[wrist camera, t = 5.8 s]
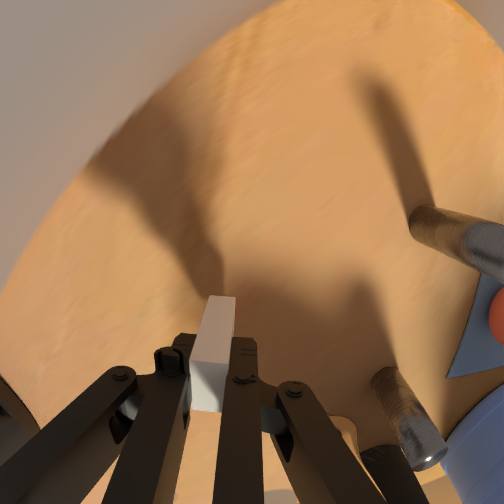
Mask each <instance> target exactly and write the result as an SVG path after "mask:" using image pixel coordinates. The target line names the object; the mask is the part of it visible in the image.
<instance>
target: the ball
mask: <svg viewBox="0 0 504 504" xmlns="http://www.w3.org/2000/svg"><path fill="white" fill-rule="evenodd" d="M489 326H490V330H491V332H492V334H493V336H494V338H495V339H496V340H497V341H498V342H499V343H500V344H502V345H503V346H504V287H503V288H502V289H501V290H500V291H499V292H498V293H497V294H496V296H495V297H494V299H493V301H492V303H491V306H490V310H489Z"/></svg>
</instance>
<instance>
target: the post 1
mask: <svg viewBox="0 0 504 504" xmlns="http://www.w3.org/2000/svg"><path fill="white" fill-rule="evenodd" d="M371 387H372V389H373V391H374V393H375V395H376V397H377V399H378V401H379V403H380V405H381V407H382V409H383V411H384V413H385V415H386V417H387V419H388V421H389V423H390V425H391V427H392V429H393V431H394V433H395V435H396V437H397V439H398V441H399V443H400V445H401V447H402V449H403V451H404V454H405V456H406V458H407V460H408V462H409V464H410V466H411V468H412V470H413V471H415V472H419V471H423V470H426V469H428V468H430V467H432V466H433V465H435V464H436V463H438V462H439V461H440V460H441V459H442V458H443V457H444V456H445V455H446V454H447V452H448V449H449V448H448V446H447V444H446V442H445V441H444V439H443V438H442V436H441V434H440V433H439V431H438V430H437V428H436V426H435V425H434V423H433V422H432V420H431V419H430V417H429V415H428V414H427V412H426V411H425V409H424V408H423V406H422V405H421V403H420V402H419V400H418V399H417V397H416V396H415V394H414V393H413V391H412V390H411V388H410V387H409V385H408V384H407V382H406V381H405V379H404V378H403V376H402V375H401V373H400V372H399V370H398V369H397V368H395V367H387V368H384V369H382V370H380V371H379V372H378V373H376V374H375V376H374V377H373V379H372V381H371Z"/></svg>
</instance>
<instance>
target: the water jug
mask: <svg viewBox="0 0 504 504" xmlns="http://www.w3.org/2000/svg"><path fill="white" fill-rule="evenodd" d="M446 444H447V446H448V448H449V449H448V452H447V454H446V455H445V456H444V457H443V458H442V459H441V460H440V464H441V466H442V468H443V470H444V472H445V473H446V474H447V475H448V476H449V478H450V480H451V482H452V484H453V486H454V488H455V489H456V491H457V493H458V495H459V497H460V499H461V501H462V503H463V504H504V384H503V385H501V386H500V387H498V388H497V389H495V390H494V391H493V392H491V393H490V394H489V395H488V396H487V397H485V398H484V399H483V400H482V401H481V402H480V403H479V404H478V405H476V406H475V407H474V408H473V409H472V410H471V411H470V412H469V413H468V414H467V416H466V417H465V418H464V419H463V420H462V421H461V422H460V423H459V425H458V426H457V427H456V428H455V429H454V431H453V432H452V433H451V435H450V436H449V438H448V439H447V441H446Z"/></svg>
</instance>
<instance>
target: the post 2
mask: <svg viewBox="0 0 504 504" xmlns="http://www.w3.org/2000/svg"><path fill="white" fill-rule="evenodd" d="M409 229H410V233H411V235H412V237H413V238H414V239H415V240H416V241H418V242H420V243H422V244H424V245H426V246H428V247H430V248H432V249H435V250H437V251H439V252H441V253H443V254H445V255H447V256H449V257H451V258H453V259H455V260H457V261H459V262H461V263H463V264H465V265H467V266H469V267H471V268H473V269H475V270H477V271H479V272H481V273H483V274H485V275H486V276H488V277H490V278H492V279H494V280H496V281H498V282H499V283H501V284H503V285H504V225H502V224H498V223H495V222H491V221H488V220H484V219H480V218H477V217H473V216H469V215H465V214H462V213H458V212H454V211H450V210H446V209H442V208H437V207H433V206H429V205H422V206H419V207H418V208H416V209H415V210H414V212H413V213H412V215H411V218H410V222H409Z"/></svg>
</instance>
